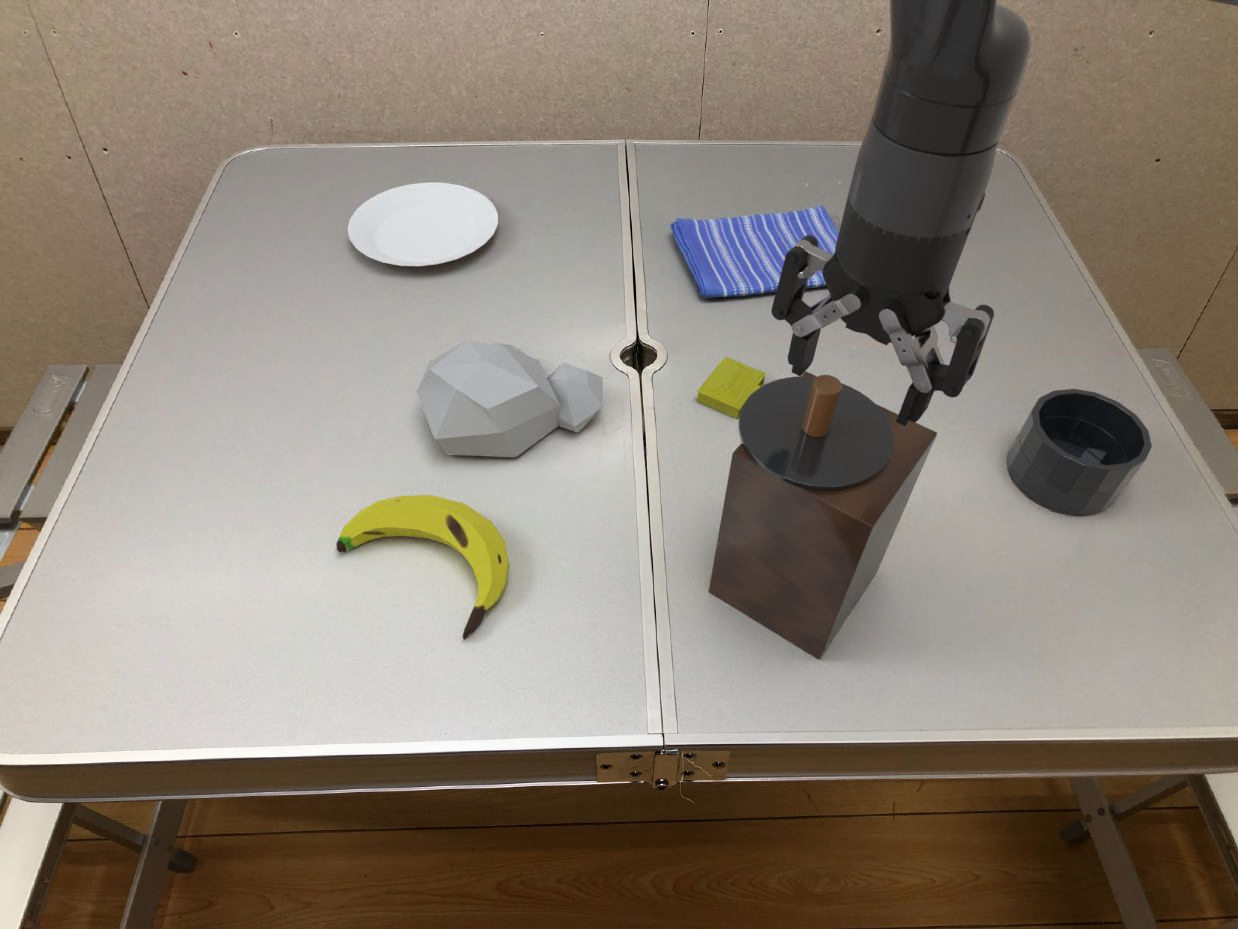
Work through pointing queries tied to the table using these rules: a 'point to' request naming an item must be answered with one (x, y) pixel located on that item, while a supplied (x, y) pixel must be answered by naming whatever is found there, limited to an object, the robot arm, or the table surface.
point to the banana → (439, 539)
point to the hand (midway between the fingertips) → (852, 393)
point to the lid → (815, 433)
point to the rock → (502, 399)
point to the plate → (423, 224)
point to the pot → (1077, 452)
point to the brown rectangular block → (810, 541)
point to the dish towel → (749, 249)
